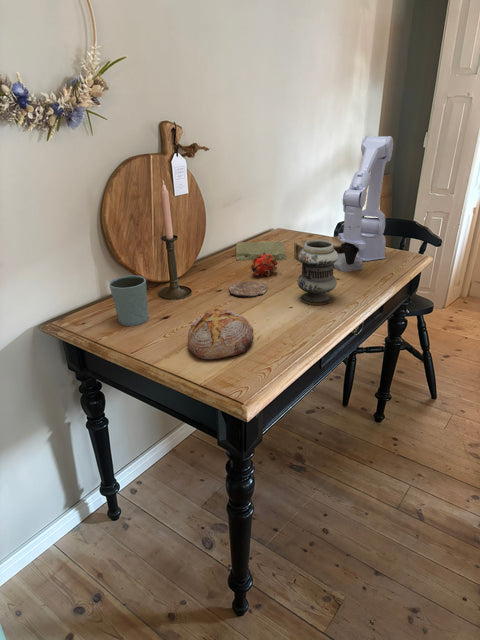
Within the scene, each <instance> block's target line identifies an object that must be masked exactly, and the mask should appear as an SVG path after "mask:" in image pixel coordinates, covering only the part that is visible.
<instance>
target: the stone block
mask: <svg viewBox="0 0 480 640" xmlns="http://www.w3.org/2000/svg"><path fill="white" fill-rule="evenodd" d="M363 262H364V261H363V260H362V259H361V258H359V257H356V258H355V261H354V264H350V265H348V264H347V263H346V259H345V254H344V253H342V254H339V253H338V260H337V261H336V262H335V263H334V266H333V268H335V270H337V271H338V272H342V273H343V272H352V271H353V272H354V271H362V270H363V266H364V265H363V264H364V263H363Z"/></svg>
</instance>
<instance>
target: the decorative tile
mask: <svg viewBox="0 0 480 640" xmlns="http://www.w3.org/2000/svg"><path fill="white" fill-rule="evenodd" d="M284 245H285V244H284V241H249V242H248V241H247V242H245V241H238V242H237V243H236V244H235V246H236V247H235V252H236V253H235V254H236V255H235V256H236V257H235V258H236V261H240V262H241V261H242V262H243V261H253V260H254V259H255V258H256V257H257V256H258V255H263V253H266V254H267V255H269V254H273V256H274V257H275V258H276V261H286V260H287V258H286V257H287V256H286V250H285V249H286V248H285V246H284Z"/></svg>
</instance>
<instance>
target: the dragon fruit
mask: <svg viewBox="0 0 480 640" xmlns="http://www.w3.org/2000/svg"><path fill="white" fill-rule="evenodd" d="M251 263H252V264H251V265H250V269H251V271H252V273H254V277H261V276H263V275H266V277H269V276H271V274H272V272H274V271H276V270H278V267H277V265H278V262H277V260H276V258H275V257H274V256H273V254H269V255H267V254H266V253H263V255H258V256H257V257H256V258H255V259H254V260H251Z"/></svg>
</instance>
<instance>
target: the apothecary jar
mask: <svg viewBox="0 0 480 640" xmlns="http://www.w3.org/2000/svg"><path fill="white" fill-rule="evenodd" d="M309 240H310V241H307V242H305V245H304V249H302V250H301V251H300V253H299V255H298V256H299V260H300V261H301V262H302V263H301V262H300V261H299V262H300V263H301V266H302V267H301V274H300V275H299V276H298V278H297V279H296V280H297V286H298V288H300V290H302V291H303V294H301V295H300V301H302V303H304V304H307V305H313V306H323V305H325V304H330V303H331V302H332V301H333V298H332V297H333V296H331V295H330V294H329V293H330V292H331V291H333V290H335V288H336V286H337V285H338V281H337V278H336V277H335V276H334V263H335V262H336V261H337V260H338V254H339V253H337V252H336V251H335V250H334V248H333V243H332V242H330V241H327V240H312V239H309ZM304 292H305V293H304Z"/></svg>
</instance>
